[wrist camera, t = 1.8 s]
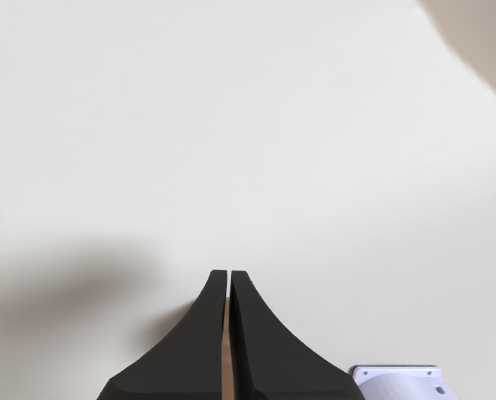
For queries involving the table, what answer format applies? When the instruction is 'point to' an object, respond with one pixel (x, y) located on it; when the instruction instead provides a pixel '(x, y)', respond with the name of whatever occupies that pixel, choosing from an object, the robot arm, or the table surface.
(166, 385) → the robot arm
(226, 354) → the walnut block
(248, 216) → the table surface
